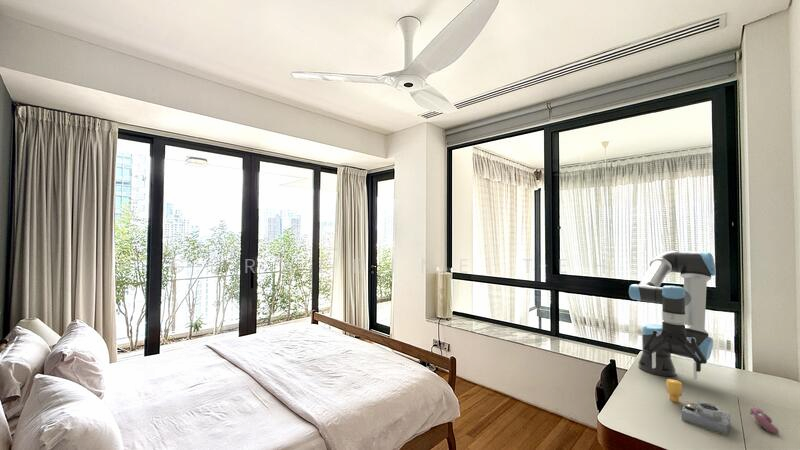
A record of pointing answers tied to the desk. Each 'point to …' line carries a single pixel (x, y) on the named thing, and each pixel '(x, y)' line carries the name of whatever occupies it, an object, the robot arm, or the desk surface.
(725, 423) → the box
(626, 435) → the desk surface
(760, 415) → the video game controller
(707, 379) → the desk surface
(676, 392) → the yellow capsule
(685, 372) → the desk surface
